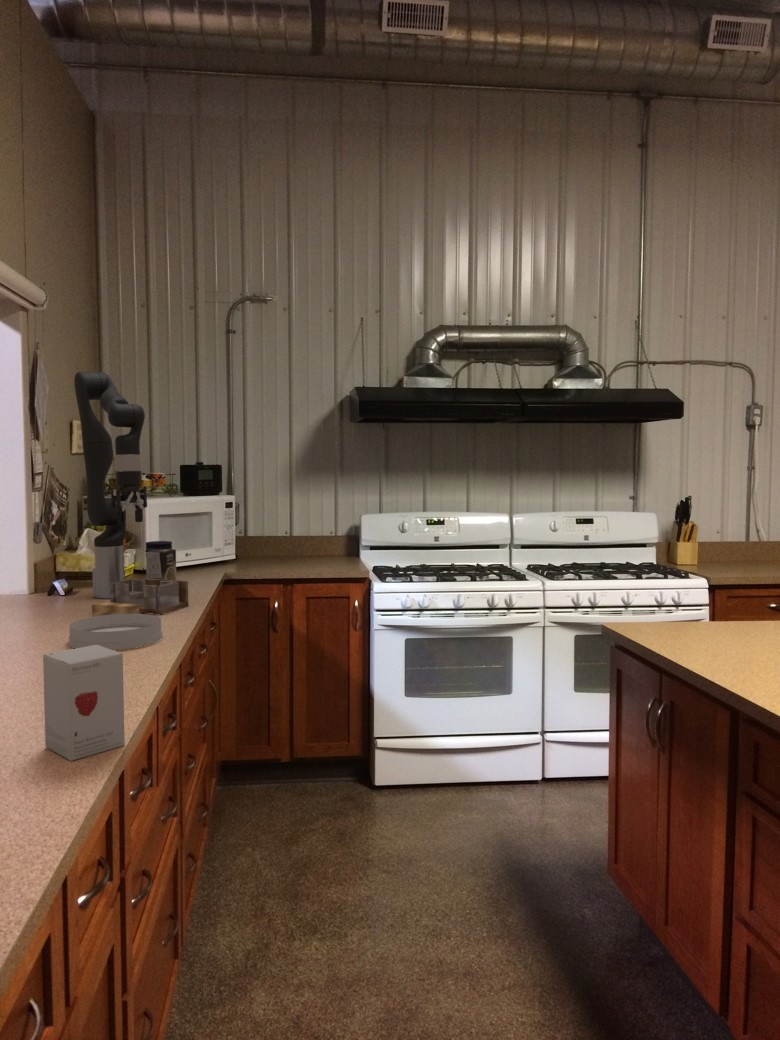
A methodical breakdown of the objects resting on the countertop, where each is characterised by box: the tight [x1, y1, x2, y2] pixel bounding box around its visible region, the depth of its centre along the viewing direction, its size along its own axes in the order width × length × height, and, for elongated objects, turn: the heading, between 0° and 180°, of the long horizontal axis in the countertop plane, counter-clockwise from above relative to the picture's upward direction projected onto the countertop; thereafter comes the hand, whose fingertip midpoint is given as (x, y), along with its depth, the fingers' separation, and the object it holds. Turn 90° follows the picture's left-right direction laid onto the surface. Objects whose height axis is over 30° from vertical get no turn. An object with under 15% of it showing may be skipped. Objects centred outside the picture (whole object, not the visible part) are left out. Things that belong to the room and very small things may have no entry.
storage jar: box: [145, 540, 173, 553], centre depth 282 cm, size 10×10×15 cm
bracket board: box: [109, 578, 189, 615], centre depth 228 cm, size 18×14×8 cm
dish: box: [68, 613, 163, 651], centre depth 187 cm, size 22×22×5 cm
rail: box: [91, 601, 140, 617], centre depth 213 cm, size 13×4×4 cm, turn 72°
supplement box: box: [42, 645, 126, 762], centre depth 116 cm, size 9×9×15 cm
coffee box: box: [145, 548, 177, 580], centre depth 245 cm, size 9×6×16 cm
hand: (130, 522), depth 227 cm, fingers open, 8 cm apart
